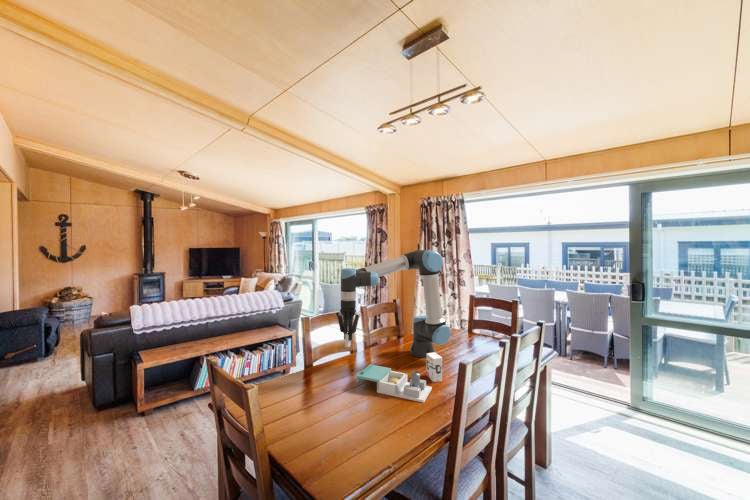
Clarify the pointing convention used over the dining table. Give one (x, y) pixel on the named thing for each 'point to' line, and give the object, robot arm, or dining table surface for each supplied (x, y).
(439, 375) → the ink box
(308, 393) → the dining table surface
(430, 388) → the housing
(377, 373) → the lid
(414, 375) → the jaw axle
